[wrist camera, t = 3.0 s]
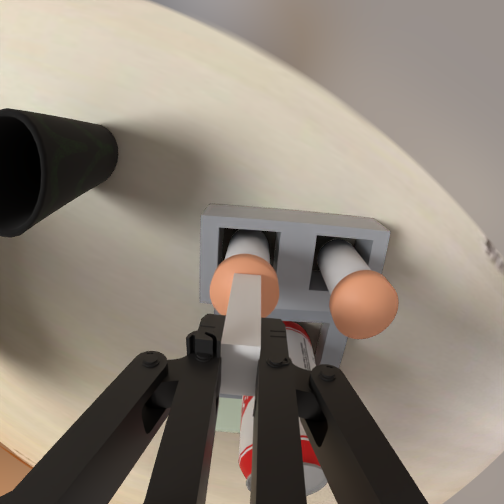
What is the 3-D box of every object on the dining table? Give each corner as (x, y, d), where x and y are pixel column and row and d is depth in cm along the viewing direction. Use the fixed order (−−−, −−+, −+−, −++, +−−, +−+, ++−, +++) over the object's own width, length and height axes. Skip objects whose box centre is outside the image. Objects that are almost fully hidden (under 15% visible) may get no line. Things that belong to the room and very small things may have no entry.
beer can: (238, 357, 32) (226, 496, 17) (256, 307, 30) (253, 453, 15) (296, 370, 32) (312, 504, 17) (319, 323, 30) (356, 462, 15)
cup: (144, 136, 24) (65, 141, 13) (106, 212, 27) (25, 261, 15) (79, 99, 23) (-14, 91, 12) (47, 172, 25) (-43, 200, 14)
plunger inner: (223, 267, 27) (209, 320, 19) (225, 220, 25) (210, 258, 18) (271, 271, 27) (275, 325, 19) (275, 224, 25) (283, 264, 18)
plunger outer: (308, 279, 26) (327, 338, 18) (315, 232, 24) (340, 276, 17) (355, 282, 26) (388, 339, 18) (364, 236, 24) (405, 280, 17)
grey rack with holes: (206, 379, 33) (201, 405, 29) (209, 203, 26) (200, 215, 23) (333, 386, 33) (340, 411, 29) (373, 218, 26) (390, 231, 23)
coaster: (184, 423, 36) (183, 427, 35) (180, 379, 33) (179, 383, 32) (247, 430, 36) (247, 433, 35) (252, 386, 33) (252, 390, 32)
